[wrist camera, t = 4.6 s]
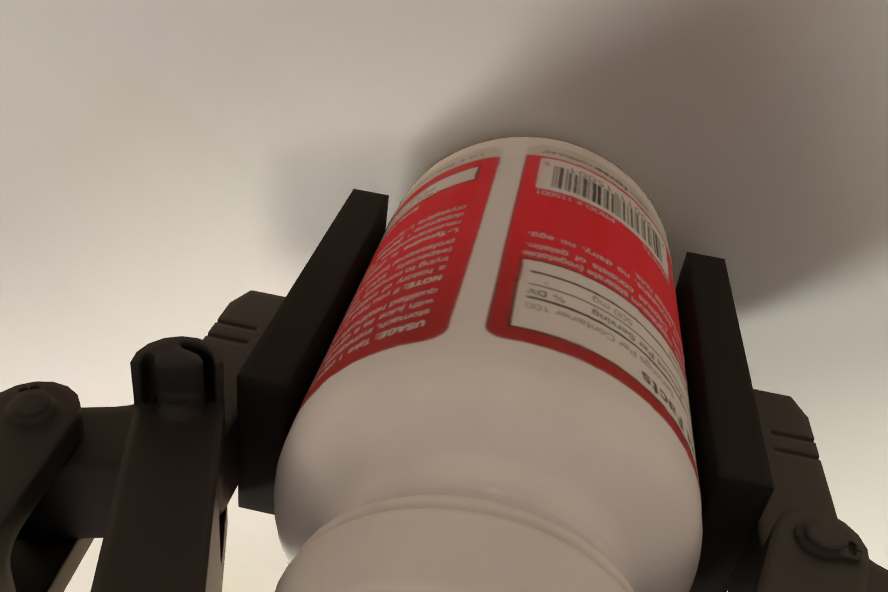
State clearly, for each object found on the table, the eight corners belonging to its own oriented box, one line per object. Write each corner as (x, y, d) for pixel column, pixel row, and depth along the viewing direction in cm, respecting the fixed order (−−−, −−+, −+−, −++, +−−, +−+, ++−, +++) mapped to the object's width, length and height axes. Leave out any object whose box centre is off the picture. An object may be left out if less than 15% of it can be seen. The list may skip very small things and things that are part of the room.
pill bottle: (403, 364, 21) (234, 836, 12) (378, 127, 18) (118, 516, 9) (663, 378, 20) (701, 911, 11) (684, 127, 17) (767, 574, 7)
